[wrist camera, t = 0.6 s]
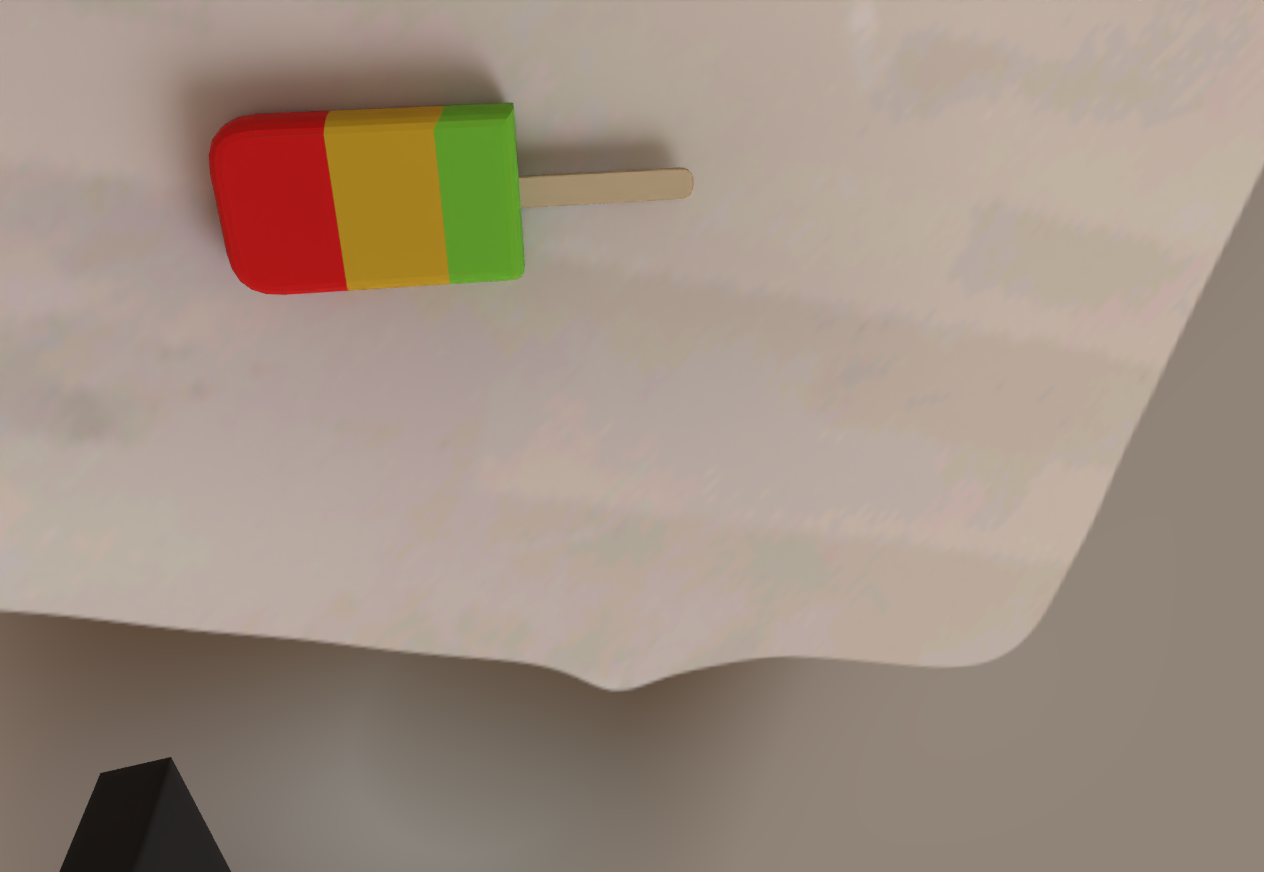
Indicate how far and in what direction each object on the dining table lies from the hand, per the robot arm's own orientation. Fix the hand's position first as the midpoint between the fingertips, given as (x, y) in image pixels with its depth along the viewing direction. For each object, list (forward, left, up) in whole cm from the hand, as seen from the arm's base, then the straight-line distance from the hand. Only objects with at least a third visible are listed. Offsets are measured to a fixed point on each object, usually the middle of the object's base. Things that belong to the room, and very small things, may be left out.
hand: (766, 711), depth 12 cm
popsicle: (-1, -3, -26) cm, 26 cm away
